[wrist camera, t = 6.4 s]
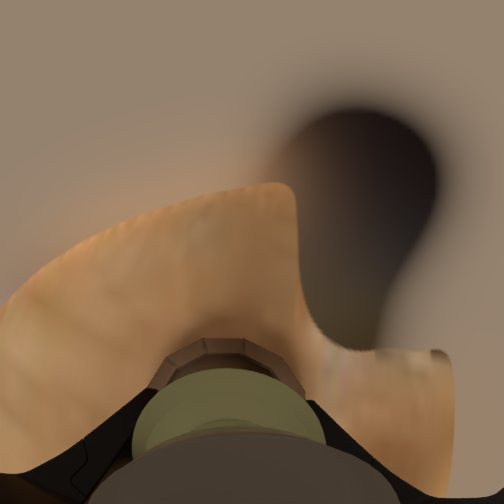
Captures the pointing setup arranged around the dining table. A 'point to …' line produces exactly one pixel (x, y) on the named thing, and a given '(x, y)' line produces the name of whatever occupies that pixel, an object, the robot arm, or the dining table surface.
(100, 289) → the dining table surface
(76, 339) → the dining table surface
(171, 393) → the bottle
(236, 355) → the tray
